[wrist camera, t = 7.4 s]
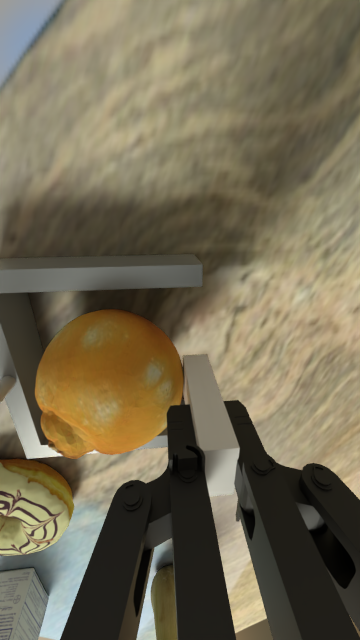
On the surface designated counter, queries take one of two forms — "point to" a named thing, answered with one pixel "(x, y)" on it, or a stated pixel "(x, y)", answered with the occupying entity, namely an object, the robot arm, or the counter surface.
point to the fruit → (107, 384)
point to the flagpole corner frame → (67, 275)
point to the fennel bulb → (164, 604)
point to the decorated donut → (32, 506)
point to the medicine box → (21, 604)
